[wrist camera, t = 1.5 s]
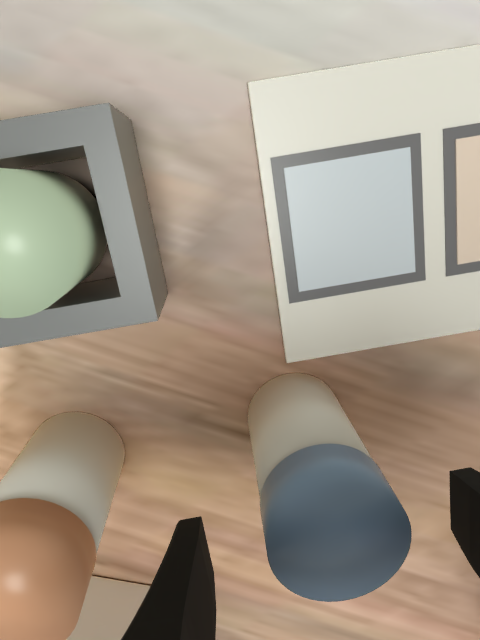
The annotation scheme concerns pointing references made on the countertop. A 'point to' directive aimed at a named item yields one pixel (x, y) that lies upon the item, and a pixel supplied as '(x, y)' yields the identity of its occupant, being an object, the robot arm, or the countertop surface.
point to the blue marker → (322, 494)
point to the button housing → (117, 216)
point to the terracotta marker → (55, 523)
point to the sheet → (372, 200)
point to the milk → (108, 609)
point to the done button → (45, 239)
